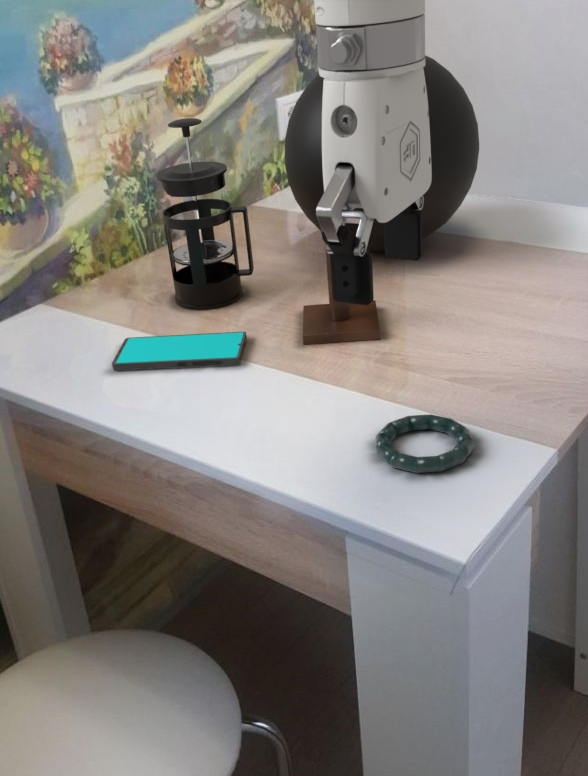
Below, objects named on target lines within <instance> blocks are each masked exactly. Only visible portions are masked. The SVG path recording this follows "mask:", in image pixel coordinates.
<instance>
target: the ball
mask: <svg viewBox="0 0 588 776" xmlns="http://www.w3.org/2000/svg"><path fill="white" fill-rule="evenodd" d="M423 69H424V75H425V82H426V89H427V98H428V110H429V125H430V144H431V168H432V181H431V185H430V187H429V189H428V190H427V191H426V193H425V194H423V197H424V205H423V208H422V209H421V210H416V211H422V237H423V240H424V239H426V238H428V237H430V236H431V235H432V234H434V233H435V232H436V231H438V230H439V229H440V228H441V227H443V226H444V225H445V224H447V223H448V221H449V220H450V219H451V218H452V217H453V215H454V214H456V212H457V211H458V209H459V208H460V207H461V205H463V202H464V201H465V199H466V197H467V195H468V193H469V191H470V189H471V188H472V184H473V183H474V179H475V176H476V174H477V170H478V162H479V155H480V135H479V134H480V133H479V123H478V119H477V116H476V113H475V110H474V106H473V104H472V102H471V100H470V98H469V96H468V94H467V92H466V90H465V89H464V87H463V86H462V85H461V84H460V82H459V81H458V80H457V78H456V77H455V76H454V75H453V74H452V73H451V72H450V70H449V69H447V68H446V67H445V66H443V65H442V64H441V63H439V62H438V61H437V60H435V59H434V58H432V57H430V56H428V55H426V54H425V67H423ZM324 79H325V78H323V77H320V76H319V73H317V74H316V75H315V77H313V78H312V79H311V80H310V82H308V83H307V85H306V86H305V88H304V89H303V91H302V92H301V94H300V96H299V97H298V99H297V100H296V102H295V104H294V107H293V109H292V111H291V114H290V112H288V113H287V114H288V115H290V117H289V119H288V122H287V127H286V133H285V137H284V167H285V173H286V178H287V183H288V185H289V188H290V190H291V193H292V195H293V198H294V200H295V202H296V203H297V206H299V208H300V210H302V212H303V214H304V215H305V216H306V218H307V219H308V221H310V222H311V223H312V224H313V225H314V227H316V228H317V229H318V230H319V231H320V232H321V227H320V224H319V222H318V219H317V216H316V208H317V205H318V203H319V201H320V199H321V198H322V196H323V194H324V184H323V168H322V98H323V81H324ZM354 210H358V211H364V209H363V208H355V209H354ZM345 226H348V227H349V228H350V230H351V231H352V232H353V234H354V235H355V236H356V234H357V230H358V226H359V224H355V223H345ZM366 251H373V252H374V251H375V252H377V251H378V252H379V251H381V252H382V251H383V252H385V243H384V223H380V222H378V221H377V220H376V219H374V221H373V225H372V229H371V233H370V237H369V241H368V245H367V249H366Z"/></svg>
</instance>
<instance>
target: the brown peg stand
mask: <svg viewBox="0 0 588 776" xmlns="http://www.w3.org/2000/svg"><path fill="white" fill-rule="evenodd" d="M324 246H325V247H324V248H325V249H326V243H325V242H324ZM325 261H326V275H327V291H328V292H327V293H328V303H321V304H320V303H319V304H306V305H303V306H302V307H303V309H302V345H316V344H317V345H319V344H331V343H345V342H346V343H347V342H356V341H357V342H359V341H372V340H373V341H375V340H376V341H377V340H381V327H380V321H379V315H378V309H377V302H376V300H375V299H373V301H372V302H371V303H370V304H369V305H360V304H352V303H344V302H337V301H335V300H334V299H333V293H332V278H331V263H330V254H329V253H327V251H326V250H325Z"/></svg>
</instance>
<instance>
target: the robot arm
mask: <svg viewBox="0 0 588 776" xmlns="http://www.w3.org/2000/svg"><path fill="white" fill-rule="evenodd" d="M313 4H314V5H313V6H314V8H313V9H314V20H315V21H314V22H315V32H316V33H315V34H316V35H315V36H316V49H317V61H318V64H317V65H318V74H319V76H320V77H323V78H325V79H324V81H323V98H322V168H323V184H324V194H323V196H322V198H321V199H320V201H319V203H318V205H317V208H316V216H317V219H318V222H319V224H320V227H321V231H320V234H321V239H322V241H323V242H324V244H325V243H326V248H325V252H326V251H327V253H329V254H330V263H331V278H332V293H333V299H334V300H335V301H337V302H344V303H352V304H360V305H369V304H370V303H371V302H372V301H373V300H375V299H374V298H375V297H374V296H375V295H374V276H373V253H372V252H371V251H367V250H366V249H367V245H368V241H369V237H370V233H371V229H372V225H373V221H374V219H376V220H377V221H378V222H380V223H384V243H385V250H384V255H385V257H386V258H388V259H397V260H407V261H419V260H420V259H421V258H422V257H423V256H424V255H423V254H424V253H423V252H424V251H423V249H424V247H423V240H424V239H423V237H422V211H416V210H421V209H422V208H423V205H424V197H423V194H425V193H426V191H427V190H428V189H429V187H430V185H431V181H432V168H431V144H430V125H429V110H428V98H427V89H426V82H425V75H424V69H423V67H425V55H426V0H313ZM355 208H363V209H364V211H358V210H354V209H355ZM345 223H355V224H359V226H358V230H357V234H356V236H355V235H354V234H353V232H352V231H351V230H350V228H349V227H348V226H345Z"/></svg>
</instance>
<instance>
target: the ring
mask: <svg viewBox="0 0 588 776" xmlns="http://www.w3.org/2000/svg"><path fill="white" fill-rule="evenodd" d="M420 430H432V431H436V432H442V433H446V434H448V435H449V436H451V437H452V438H453V439H455V440H456V443H457V444H456V445H455V446H454V447H453V448H452V450H449V451H447V452H444V453H440V454H438V455H430V456H429V455H428V456H427V455H426V456H415V455H411V454H406V453H402V452H400V451H398V450H397V449H395V448H394V447H393V446H392V441H393V440H394V439H395V438H396V437H397V436H400V435H402V434H405V433H407V432H410V431H420ZM374 441H375V442H374V443H375V451H376V454H377V456H378V457H379V458H380V459H381V460H383V461H384V462H385V463H387V464H388V465H389V466H390V467H392V468H393V469H394V468H395V469H398V470H402V471H407V472H411V473H416V474H421V473H439V472H444V471H446V470H449V469H452V468H453V467H456V466H458V465H461V464H463V463H464V462H465V460H466V459H467V458H468V457H469V456H470V454H471V453H472V452H473V451H474V448H475V444H474V440H473V435H472V434H471V431H470V429H469V428H467V427H466V426H464V425H463V424H462V423H460V422H458V421H457V420H456V419H453V418H450V417H446V416H440V415H435V414H432V413H431V414H415V415H406V416H404V417H401V418H398V419H395V420H393V421H390V422H388V423H387V424H385V425H384V427H383V428H382V429H380V431H379V432H378V433H377V434H376V435H375V438H374Z"/></svg>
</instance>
